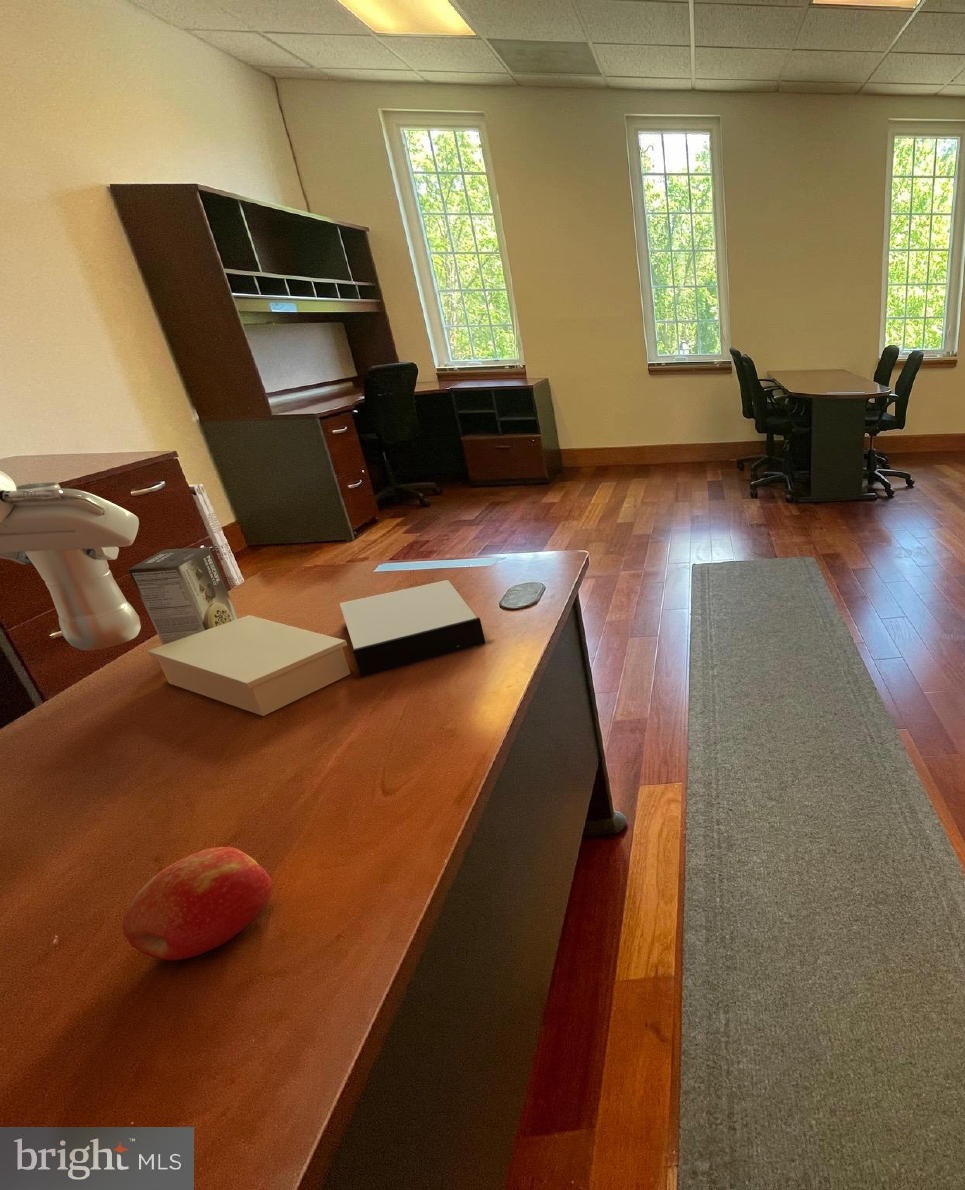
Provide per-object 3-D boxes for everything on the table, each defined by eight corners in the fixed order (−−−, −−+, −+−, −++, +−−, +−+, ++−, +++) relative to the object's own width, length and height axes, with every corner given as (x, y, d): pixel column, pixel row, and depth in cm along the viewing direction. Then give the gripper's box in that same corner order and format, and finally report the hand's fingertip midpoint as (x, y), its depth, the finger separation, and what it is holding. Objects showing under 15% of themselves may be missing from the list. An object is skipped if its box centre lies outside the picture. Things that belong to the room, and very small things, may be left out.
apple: (297, 913, 55) (267, 848, 52) (182, 998, 48) (140, 928, 45) (245, 884, 58) (214, 819, 55) (130, 960, 51) (86, 891, 48)
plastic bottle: (56, 660, 72) (-32, 494, 64) (99, 634, 78) (23, 480, 70) (123, 653, 74) (45, 491, 66) (160, 629, 80) (92, 478, 72)
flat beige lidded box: (163, 686, 90) (146, 650, 87) (261, 647, 101) (249, 614, 98) (262, 721, 82) (246, 683, 80) (356, 675, 93) (345, 640, 91)
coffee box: (200, 638, 103) (162, 549, 97) (246, 633, 105) (211, 545, 99) (168, 664, 95) (124, 568, 89) (218, 658, 97) (178, 564, 91)
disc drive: (362, 679, 92) (352, 650, 90) (345, 627, 108) (337, 601, 106) (486, 645, 102) (480, 618, 100) (454, 602, 118) (449, 578, 116)
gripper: (81, 464, 63) (182, 528, 75) (-179, 471, 58) (-26, 537, 71) (65, 518, 60) (171, 574, 73) (-207, 530, 56) (-44, 587, 69)
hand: (72, 556), depth 72 cm, fingers closed on plastic bottle, 6 cm apart
